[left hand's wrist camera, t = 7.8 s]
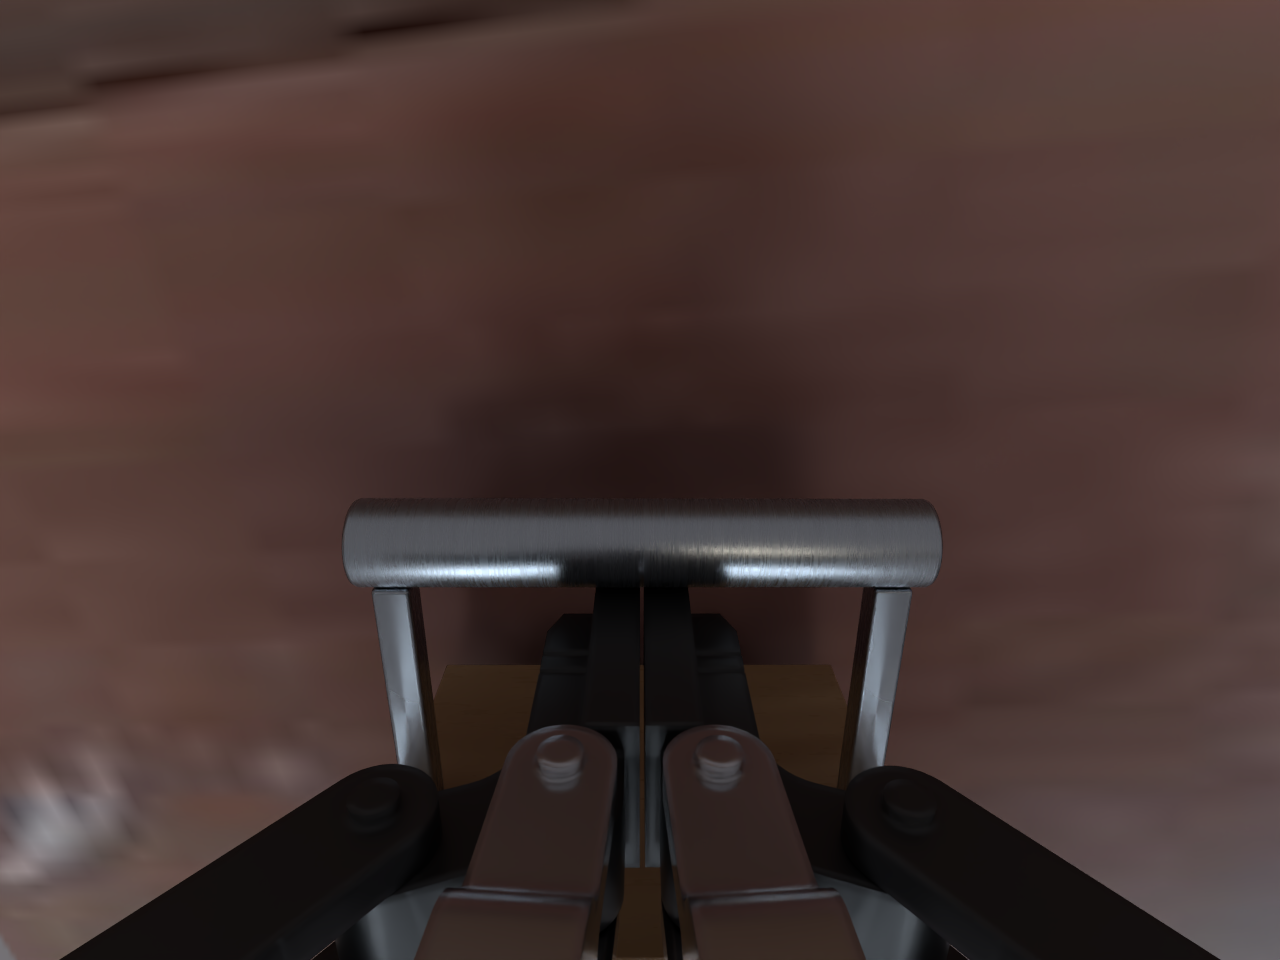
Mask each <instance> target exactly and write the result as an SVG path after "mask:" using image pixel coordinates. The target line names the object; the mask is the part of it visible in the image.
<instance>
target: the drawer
mask: <svg viewBox="0 0 1280 960" xmlns="http://www.w3.org/2000/svg"><path fill="white" fill-rule="evenodd" d="M942 550H943V542H942V531H941V525H940V521H939V518H938V515H937V512H936V510H935V508H934V507H933V505H932V504H931V503H930V502H928V501H926V500H924V499H537V498H361V499H358V500H356V501H354V502H353V503H352V505H351V506H350V508H349V510H348V512H347V515H346V518H345V522H344V527H343V534H342V558H343V565H344V569H345V573H346V576H347V578H348V580H349V581H350V583H351V584H353V585H355V586H357V587H374V588H373V590H372V598H373V604H374V611H375V618H376V624H377V631H378V638H379V644H380V651H381V657H382V664H383V671H384V677H385V684H386V690H387V697H388V704H389V710H390V717H391V724H392V730H393V737H394V743H395V750H396V757H397V763H398V764H403V765H408V766H412V767H415V768H418V769H420V770H422V771H423V772H425V773H426V774H427V775H429V776H430V777H431V778H432V780H433V781H434V783H435V785H436V788H437V791H441V790H445V789H449V788H453V787H457V786H461V785H465V784H469V783H472V782H475V781H479V780H481V779H484V778H486V777H488V776H491V775H492V774H494V773H496V772H498V771H499V770H501V769H502V767H503V764H504V761H505V759H506V757H507V754H508V752H509V751H510V750H511V748H512V747H513V746H514V745H515V744H516V743H517V742H518V741H519V740H520V739H522V738H523V737H524V736H526V733H527V728H528V724H529V719H530V714H531V709H532V704H533V699H534V695H535V690H536V685H537V680H538V675H539V673H540V666H541V665H447V667H446V669H445V672H444V675H443V677H442V680H441V683H440V685H439V688H438V691H437V693H436V696H435V699H434V701H433V694H432V686H431V678H430V670H429V662H428V654H427V645H426V637H425V629H424V621H423V613H422V605H421V597H420V589H419V587H863V595H862V602H861V610H860V617H859V625H858V632H857V639H856V647H855V654H854V662H853V669H852V676H851V684H850V691H849V699H848V706H847V704H846V702H845V699H844V697H843V694H842V692H841V689H840V687H839V684H838V682H837V679H836V677H835V674H834V672H833V669H832V667H831V665H744V672H745V674H746V678H747V683H748V687H749V692H750V697H751V701H752V706H753V711H754V715H755V720H756V724H757V729H758V734H759V738H760V740H761V741H762V742H763V743H764V744H765V745H766V746H767V747H768V748H769V750H770V751H771V752H772V754H773V757H774V759H775V761H776V763H777V764H778V765H779V766H781V767H782V768H783V769H785V770H786V771H788V772H790V773H792V774H793V775H795V776H798V777H800V778H802V779H805V780H808V781H811V782H814V783H818V784H822V785H826V786H830V787H834V788H838V789H842V790H846V789H847V786H848V784H849V783H850V781H851V780H852V779H853V778H854V777H855V776H856V775H857V774H859V773H861V772H862V771H864V770H867V769H870V768H873V767H879V766H884V762H885V756H886V750H887V744H888V738H889V732H890V726H891V720H892V714H893V707H894V701H895V695H896V689H897V683H898V677H899V671H900V665H901V659H902V653H903V646H904V640H905V634H906V628H907V622H908V616H909V610H910V604H911V598H912V590H911V588H910V587H927V586H929V585H931V584H932V583H933V582H934V581H935V580H936V578H937V576H938V573H939V570H940V566H941V561H942ZM616 960H664V952H663V943H662V934H661V876H660V867H645V805H644V665H640V868H625V879H624V899H623V903H622V906H621V909H620V911H619V934H618V943H617V952H616Z"/></svg>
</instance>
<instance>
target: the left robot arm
mask: <svg viewBox="0 0 1280 960" xmlns="http://www.w3.org/2000/svg"><path fill="white" fill-rule="evenodd" d="M644 805H645V867H660V876H661V934H662V943H663V952H664V960H968V959H970V960H1220V959H1219V958H1217V957H1215V956H1214V955H1212V954H1211V953H1209V952H1208V951H1206V950H1204V949H1203V948H1201V947H1200V946H1198V945H1197V944H1195V943H1193V942H1192V941H1190V940H1189V939H1187V938H1186V937H1184V936H1183V935H1181V934H1179V933H1178V932H1176V931H1175V930H1173V929H1172V928H1170V927H1168V926H1167V925H1165V924H1164V923H1162V922H1161V921H1159V920H1157V919H1156V918H1154V917H1153V916H1151V915H1150V914H1148V913H1147V912H1145V911H1143V910H1142V909H1140V908H1139V907H1137V906H1136V905H1134V904H1132V903H1131V902H1129V901H1128V900H1126V899H1125V898H1123V897H1121V896H1120V895H1118V894H1117V893H1115V892H1114V891H1112V890H1110V889H1109V888H1107V887H1106V886H1104V885H1103V884H1101V883H1100V882H1098V881H1096V880H1095V879H1093V878H1092V877H1090V876H1089V875H1087V874H1085V873H1084V872H1082V871H1081V870H1079V869H1078V868H1076V867H1074V866H1073V865H1071V864H1070V863H1068V862H1067V861H1065V860H1064V859H1062V858H1060V857H1059V856H1057V855H1056V854H1054V853H1053V852H1051V851H1049V850H1048V849H1046V848H1045V847H1043V846H1042V845H1040V844H1038V843H1037V842H1035V841H1034V840H1032V839H1031V838H1029V837H1028V836H1026V835H1024V834H1023V833H1021V832H1020V831H1018V830H1017V829H1015V828H1013V827H1012V826H1010V825H1009V824H1007V823H1006V822H1004V821H1002V820H1001V819H999V818H998V817H996V816H995V815H993V814H991V813H990V812H988V811H987V810H985V809H984V808H982V807H981V806H979V805H977V804H976V803H974V802H973V801H971V800H970V799H968V798H966V797H965V796H963V795H962V794H960V793H959V792H957V791H955V790H954V789H952V788H951V787H949V786H948V785H946V784H945V783H943V782H941V781H940V780H938V779H936V778H934V777H932V776H930V775H928V774H926V773H923V772H921V771H917V770H914V769H911V768H906V767H900V766H879V767H873V768H870V769H867V770H864V771H862V772H861V773H859V774H857V775H856V776H855V777H854V778H853V779H852V780H851V781H850V783H849V784H848V786H847V789H846V790H842V789H838V788H834V787H830V786H826V785H822V784H818V783H814V782H811V781H808V780H805V779H802V778H800V777H798V776H795V775H793V774H792V773H790V772H788V771H786V770H785V769H783V768H782V767H781V766H779V765H778V764H777V763H776V761H775V759H774V757H773V754H772V752H771V751H770V750H769V748H768V747H767V746H766V745H765V744H764V743H763V742H762V741H761V740H760V738H759V734H758V729H757V724H756V720H755V715H754V711H753V706H752V701H751V697H750V692H749V687H748V683H747V678H746V674H745V672H744V664H743V660H742V656H741V650H740V646H739V641H738V637H737V632H736V630H735V629H734V628H733V627H732V626H731V625H730V624H729V623H728V622H727V621H726V620H725V619H724V618H723V617H722V615H721V614H691V610H690V602H689V593H688V587H644ZM625 868H640V587H596V592H595V602H594V611H593V614H563V615H562V617H561V618H560V619H559V620H558V621H557V622H556V623H555V624H554V625H553V626H552V627H551V628H550V629H549V630H548V632H547V637H546V642H545V646H544V651H543V656H542V661H541V666H540V673H539V675H538V680H537V685H536V690H535V695H534V699H533V704H532V709H531V714H530V719H529V724H528V728H527V733H526V736H524V737H523V738H522V739H520V740H519V741H518V742H517V743H516V744H515V745H514V746H513V747H512V748H511V750H510V751H509V752H508V754H507V757H506V759H505V761H504V764H503V767H502V769H501V770H499V771H498V772H496V773H494V774H492V775H491V776H488V777H486V778H484V779H481V780H479V781H475V782H472V783H469V784H465V785H461V786H457V787H453V788H449V789H445V790H441V791H437V788H436V785H435V783H434V781H433V780H432V778H431V777H430V776H429V775H427V774H426V773H425V772H423V771H422V770H420V769H418V768H415V767H412V766H408V765H403V764H385V765H378V766H373V767H369V768H366V769H363V770H360V771H358V772H355V773H353V774H351V775H349V776H347V777H345V778H344V779H342V780H340V781H339V782H337V783H336V784H334V785H332V786H331V787H329V788H328V789H326V790H325V791H323V792H321V793H320V794H318V795H317V796H315V797H314V798H312V799H310V800H309V801H307V802H306V803H304V804H303V805H301V806H299V807H298V808H296V809H295V810H293V811H292V812H290V813H289V814H287V815H285V816H284V817H282V818H281V819H279V820H278V821H276V822H274V823H273V824H271V825H270V826H268V827H267V828H265V829H263V830H262V831H260V832H259V833H257V834H256V835H254V836H253V837H251V838H249V839H248V840H246V841H245V842H243V843H242V844H240V845H238V846H237V847H235V848H234V849H232V850H231V851H229V852H227V853H226V854H224V855H223V856H221V857H220V858H218V859H217V860H215V861H213V862H212V863H210V864H209V865H207V866H206V867H204V868H202V869H201V870H199V871H198V872H196V873H195V874H193V875H191V876H190V877H188V878H187V879H185V880H184V881H182V882H180V883H179V884H177V885H176V886H174V887H173V888H171V889H170V890H168V891H166V892H165V893H163V894H162V895H160V896H159V897H157V898H155V899H154V900H152V901H151V902H149V903H148V904H146V905H144V906H143V907H141V908H140V909H138V910H137V911H135V912H134V913H132V914H130V915H129V916H127V917H126V918H124V919H123V920H121V921H119V922H118V923H116V924H115V925H113V926H112V927H110V928H108V929H107V930H105V931H104V932H102V933H101V934H99V935H98V936H96V937H94V938H93V939H91V940H90V941H88V942H87V943H85V944H83V945H82V946H80V947H79V948H77V949H76V950H74V951H72V952H71V953H69V954H68V955H66V956H65V957H63V958H61V959H60V960H311V959H312V958H313V957H314V956H315V955H317V954H318V953H319V952H320V951H322V950H323V949H324V948H325V947H327V946H328V945H329V944H330V943H332V942H333V941H334V940H335V941H334V942H333V943H332V944H331V945H330V946H328V947H327V948H326V949H325V950H323V951H322V952H321V953H320V954H318V955H317V956H316V957H315V958H313V959H312V960H616V952H617V943H618V934H619V911H620V909H621V906H622V903H623V899H624V879H625ZM950 944H951V945H952V946H953V947H955V948H956V949H957V950H958V951H960V952H961V953H962V954H963V955H965V956H966V957H967V958H968V959H967V958H965V957H964V956H963V955H962V954H960V953H959V952H958V951H957V950H955V949H954V948H953V947H952V946H951V945H950Z"/></svg>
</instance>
